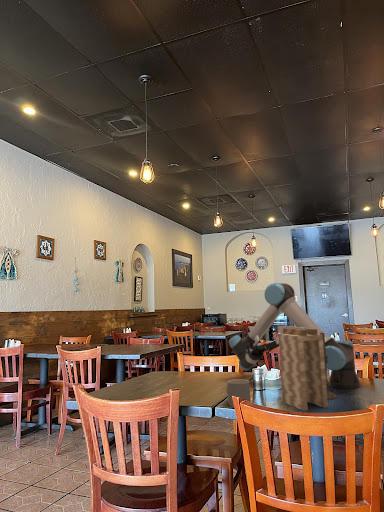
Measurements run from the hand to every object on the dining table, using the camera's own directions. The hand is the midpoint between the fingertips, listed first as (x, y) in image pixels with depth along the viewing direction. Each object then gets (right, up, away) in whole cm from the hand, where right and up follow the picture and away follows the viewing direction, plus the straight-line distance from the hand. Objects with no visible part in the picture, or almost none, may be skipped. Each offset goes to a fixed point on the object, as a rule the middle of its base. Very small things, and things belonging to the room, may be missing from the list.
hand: (270, 337), depth 197 cm
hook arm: (+6, +5, -18) cm, 20 cm away
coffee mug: (-19, -25, -22) cm, 39 cm away
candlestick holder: (+23, -25, -16) cm, 37 cm away
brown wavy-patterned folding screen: (+9, -24, -27) cm, 37 cm away
